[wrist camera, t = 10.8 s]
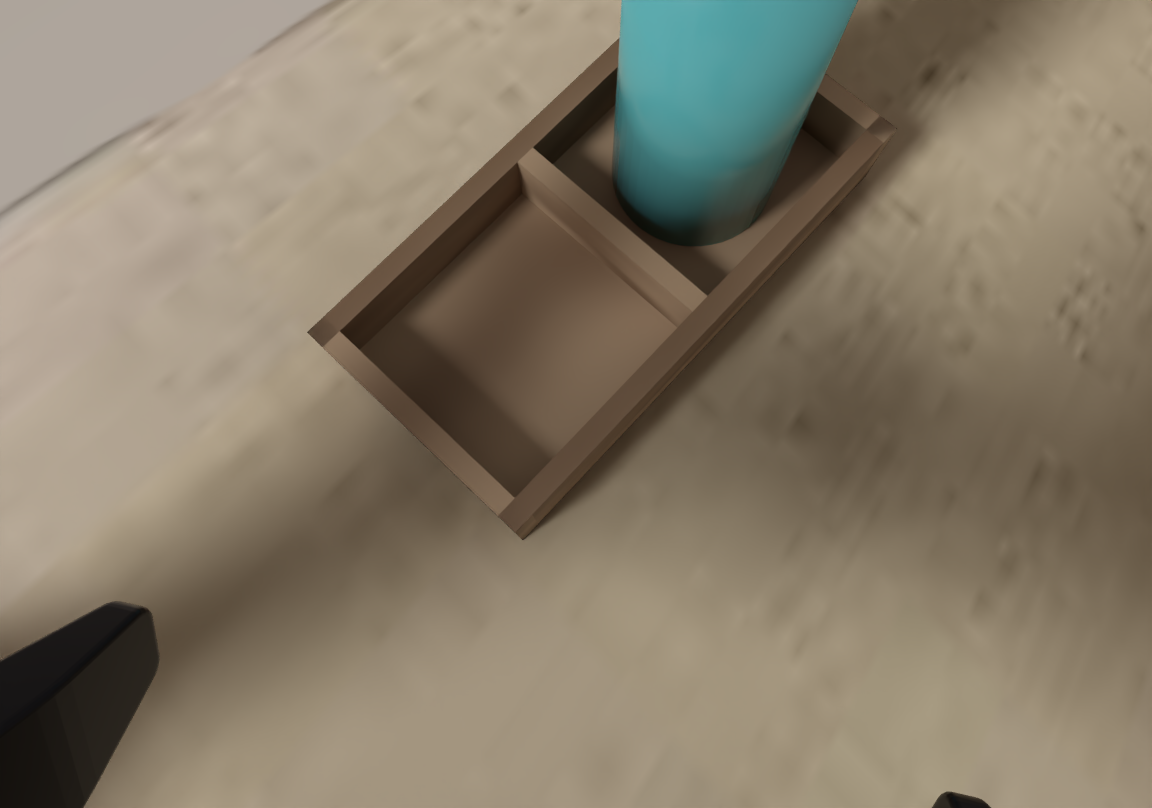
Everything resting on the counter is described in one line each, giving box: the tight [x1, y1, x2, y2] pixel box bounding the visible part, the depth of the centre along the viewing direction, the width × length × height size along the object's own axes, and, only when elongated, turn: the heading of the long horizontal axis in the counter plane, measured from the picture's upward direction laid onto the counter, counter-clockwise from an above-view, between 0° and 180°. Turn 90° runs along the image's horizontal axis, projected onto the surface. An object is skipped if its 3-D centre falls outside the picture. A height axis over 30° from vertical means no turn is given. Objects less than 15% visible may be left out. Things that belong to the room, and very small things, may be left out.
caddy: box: [307, 38, 897, 540], centre depth 23 cm, size 8×15×3 cm, turn 137°
